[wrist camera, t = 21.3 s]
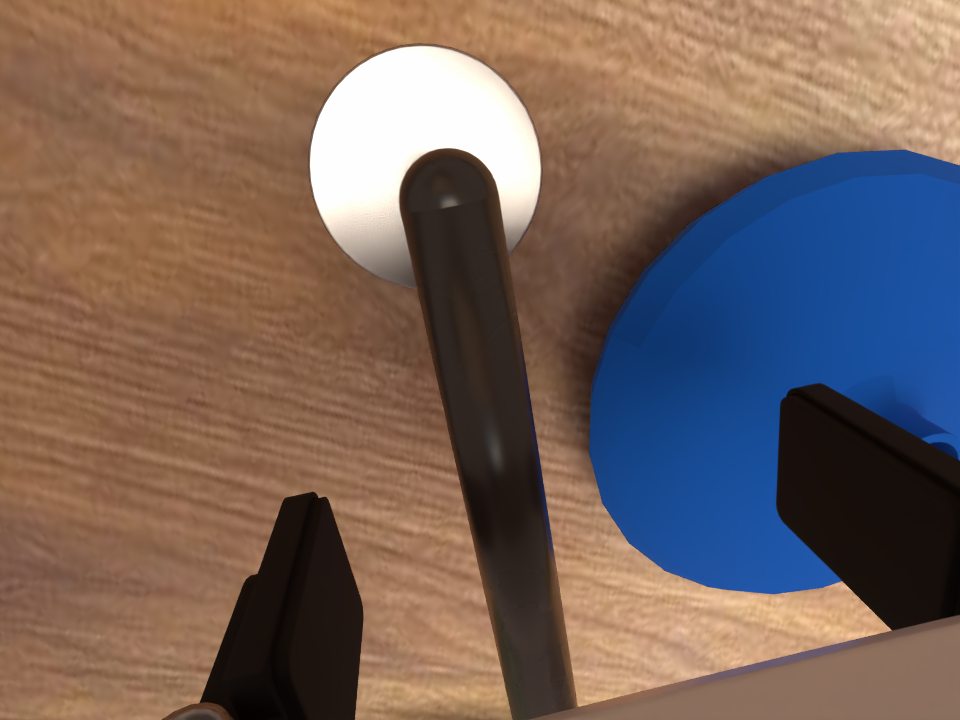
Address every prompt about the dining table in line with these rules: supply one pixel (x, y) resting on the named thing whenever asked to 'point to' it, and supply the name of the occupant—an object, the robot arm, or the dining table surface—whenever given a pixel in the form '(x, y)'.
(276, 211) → the dining table surface
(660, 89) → the dining table surface
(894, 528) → the robot arm
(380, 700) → the dining table surface
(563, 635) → the ladle
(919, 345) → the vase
